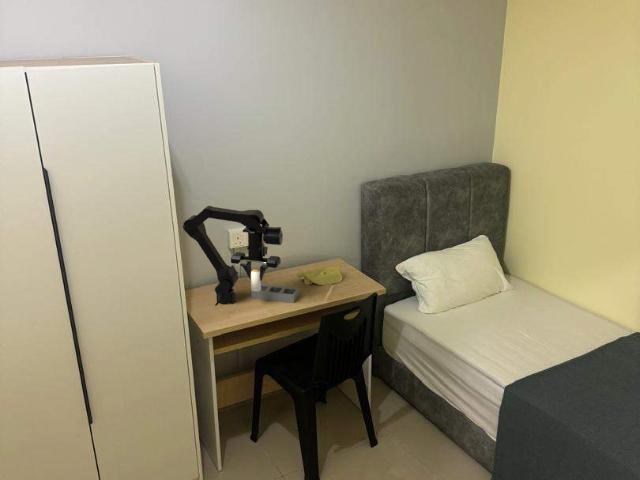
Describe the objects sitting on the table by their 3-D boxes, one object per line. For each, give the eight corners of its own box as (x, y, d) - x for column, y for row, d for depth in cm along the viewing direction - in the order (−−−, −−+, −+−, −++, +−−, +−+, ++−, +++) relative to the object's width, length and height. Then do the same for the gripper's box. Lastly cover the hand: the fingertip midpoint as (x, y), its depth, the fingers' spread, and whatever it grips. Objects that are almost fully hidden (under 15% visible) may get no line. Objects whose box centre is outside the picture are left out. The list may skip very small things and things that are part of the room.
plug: (249, 290, 232) (249, 271, 229) (253, 286, 235) (252, 267, 233) (259, 291, 231) (259, 272, 228) (262, 287, 235) (262, 268, 232)
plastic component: (326, 268, 269) (340, 265, 261) (330, 283, 269) (343, 281, 261) (291, 275, 257) (304, 272, 249) (295, 291, 257) (308, 289, 249)
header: (251, 300, 241) (251, 291, 240) (257, 292, 248) (257, 283, 247) (293, 305, 237) (293, 296, 236) (298, 297, 245) (298, 288, 243)
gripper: (284, 238, 232) (284, 274, 237) (240, 234, 236) (241, 269, 241) (276, 247, 222) (276, 285, 227) (229, 243, 226) (231, 280, 231)
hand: (256, 279), depth 232 cm, fingers closed on plug, 4 cm apart
